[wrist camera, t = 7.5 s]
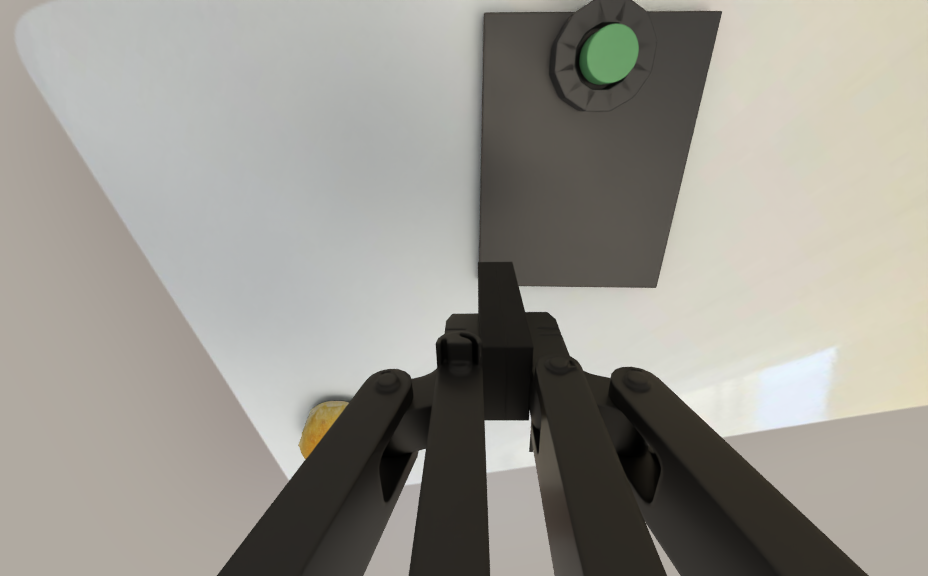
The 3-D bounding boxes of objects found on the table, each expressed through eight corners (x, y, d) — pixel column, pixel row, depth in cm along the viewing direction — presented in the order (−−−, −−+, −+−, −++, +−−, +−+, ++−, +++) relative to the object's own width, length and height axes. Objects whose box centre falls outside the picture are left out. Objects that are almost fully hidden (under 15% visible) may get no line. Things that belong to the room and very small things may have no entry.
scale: (483, 9, 24) (484, -3, 21) (713, 8, 23) (744, -5, 21) (478, 279, 31) (479, 296, 29) (650, 281, 31) (666, 298, 28)
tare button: (582, 29, 22) (590, 23, 20) (631, 28, 22) (644, 22, 20) (576, 84, 23) (583, 83, 21) (623, 84, 23) (633, 83, 21)
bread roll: (383, 467, 41) (374, 501, 38) (301, 443, 40) (284, 476, 36) (405, 413, 38) (398, 445, 34) (317, 386, 37) (300, 416, 33)
